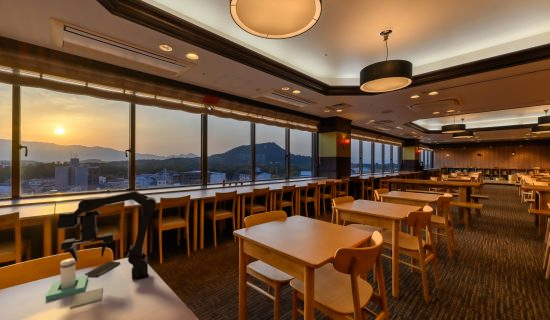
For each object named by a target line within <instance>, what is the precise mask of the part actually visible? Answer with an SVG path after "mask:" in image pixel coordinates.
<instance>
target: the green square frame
mask: <svg viewBox="0 0 550 320" xmlns="http://www.w3.org/2000/svg"><path fill="white" fill-rule="evenodd" d="M88 278H89V277H88V275H86V276H85V275H82V276H78V277H77V276H76V286H74V287H70V288H66V289H62V290H61V280H60V281H59V280H58V281H56V282H55V281H54V282H52V284H51V285H50V288H49V290H48V292H47V294H46V295H45V302H48V301H52V300H56V299H60V298H64V297H68V296H72V295H75V294H79V293H83V292H86V287H87V283H88Z"/></svg>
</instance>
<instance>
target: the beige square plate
mask: <svg viewBox="0 0 550 320" xmlns="http://www.w3.org/2000/svg"><path fill="white" fill-rule="evenodd" d="M103 291H104V287H100V288H96V289H91V290H88V291H84V292H80V293H76V294H73V296H72V300H71V302H70V306H69V309H74V308H78V307H81V306H85V305H88V304H92V303H96V302H99V301H102V300H103V299H102V297H103Z"/></svg>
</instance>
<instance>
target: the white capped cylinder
mask: <svg viewBox="0 0 550 320" xmlns="http://www.w3.org/2000/svg"><path fill="white" fill-rule="evenodd" d="M76 263H77V262H76V260H75V259H74V257H73V258H72V257H71V258H67V259H63V260H61V261H60V266H59V267H60V281H61V288H60V290H62V289H66V288H70V287H74V286H77V284H76V277H77V275H76V273H77V272H76V265H77V264H76Z"/></svg>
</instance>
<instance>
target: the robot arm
mask: <svg viewBox="0 0 550 320" xmlns="http://www.w3.org/2000/svg"><path fill="white" fill-rule="evenodd" d="M131 200H132V201H134V202H135V203H137V204H138V205H140V206H142V216H141V221H140V224H139V227H138V231H137V235H136V238H135V242H134V244H130V246H129V249H128V253H127V256H126V258H127V261H128V263H129V264H131V265H132V268H131V279H132V280H133V281H138V280H141V279H145V278H149V265H148V255H147V254H146V253H144V241H145V238H146V235H147V231H148V227H149V223H150V220H151V216H152V215H153V213H154V211H155V208H156V207H157V200H156V198H154V197H151V196H147V195H145V194H143V193H141V192H139V191H138V190H131V191H127V192H121V193H117V194H112V195H108V196H92V197H91V196H89V197H85V198H83V199H82V200H80V202H79V203H78V204H77V209H76V210H75V211H74V212H72V211H71V212H60V213H59V214H58V219H57V222H56V226H57V227H56V228H57V229H58V230H63V229H70V228H76V227H77V226H78V225H79V226H80V228H79V232H78V233H79V236H80V239H76V238H69V239H64V241H62V242H61V244H60V250H61V251H62V250H64V251H65V252H68V253H69V254H70V255H71V256H72V257H73V258H74V259H75V263H77V262H78V261H79V256H78V249H77V246H78V245H82V244H89V243H94V242H99V241H102V244H101V257H104V255H105V251H106V248H107V246H108V245H110V244H111V242H113V241H114V239H115V233H114V232H106V233H104V234H103V235H101V236H99V228H98V227H97V216H99V215H101V214H102V211H100V210H98V209H99V208H101V207H104V206H109V205H112V204H113V205H114V204H117V203H122V202H123V203H124V202H127V201H131Z"/></svg>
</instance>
